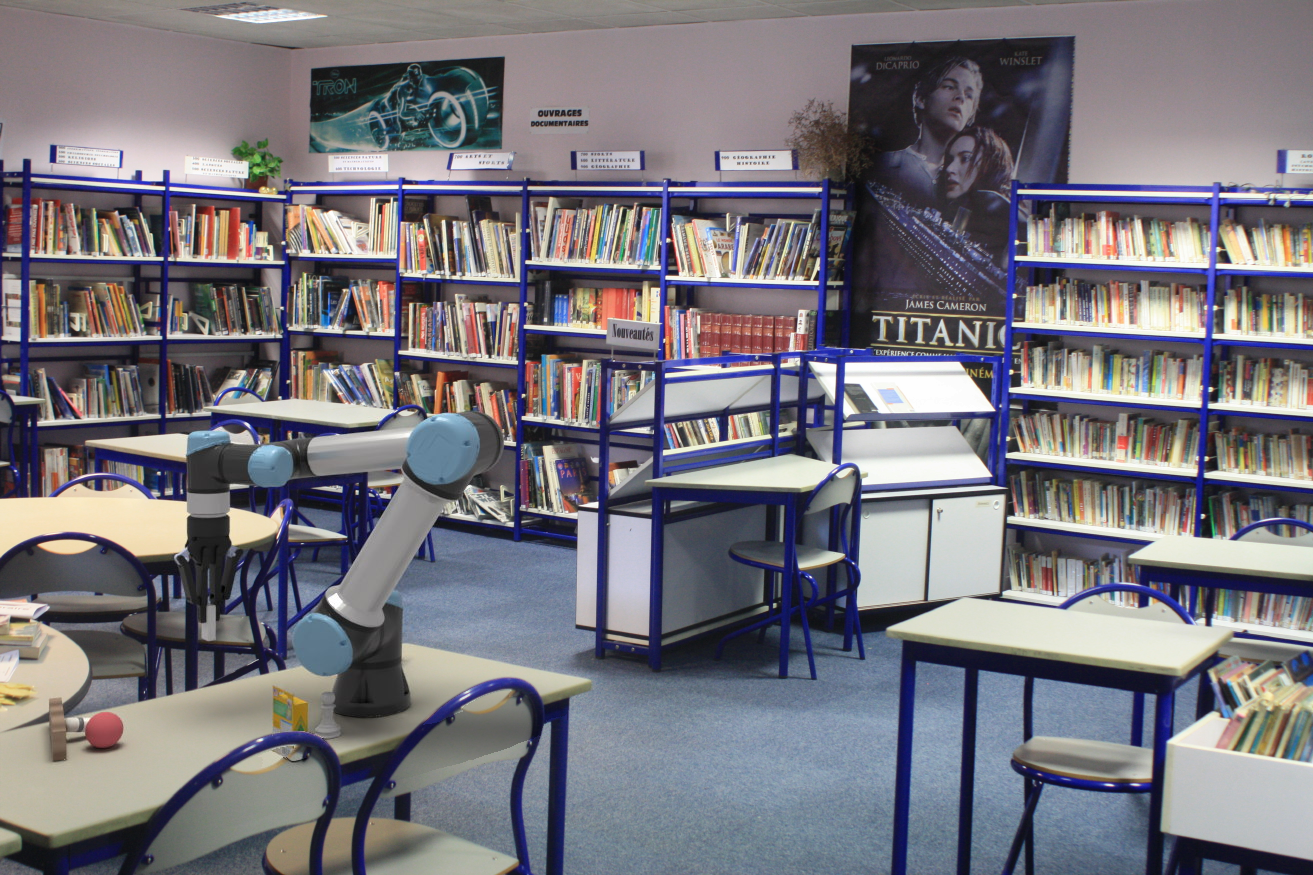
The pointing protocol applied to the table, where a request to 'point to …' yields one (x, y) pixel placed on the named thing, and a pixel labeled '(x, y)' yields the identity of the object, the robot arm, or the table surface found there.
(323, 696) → the chess piece
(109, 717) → the ball
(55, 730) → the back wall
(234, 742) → the table surface
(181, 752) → the table surface
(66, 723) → the pin
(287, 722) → the crayon box
